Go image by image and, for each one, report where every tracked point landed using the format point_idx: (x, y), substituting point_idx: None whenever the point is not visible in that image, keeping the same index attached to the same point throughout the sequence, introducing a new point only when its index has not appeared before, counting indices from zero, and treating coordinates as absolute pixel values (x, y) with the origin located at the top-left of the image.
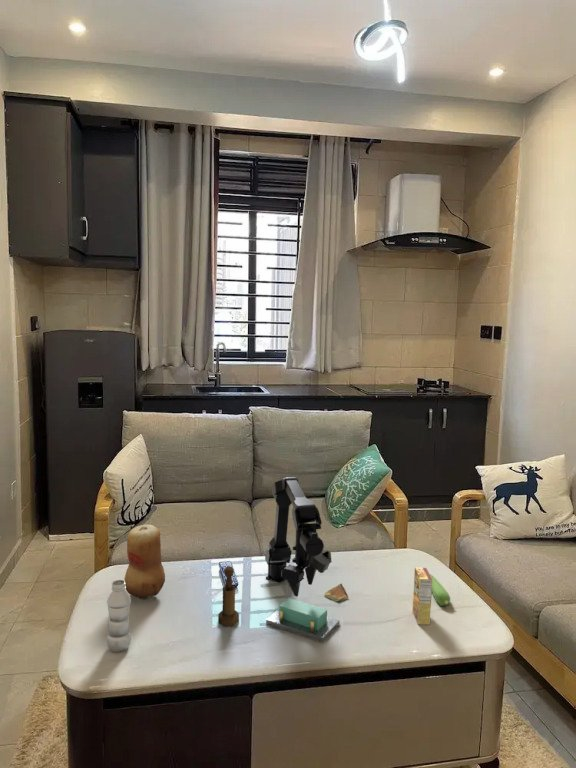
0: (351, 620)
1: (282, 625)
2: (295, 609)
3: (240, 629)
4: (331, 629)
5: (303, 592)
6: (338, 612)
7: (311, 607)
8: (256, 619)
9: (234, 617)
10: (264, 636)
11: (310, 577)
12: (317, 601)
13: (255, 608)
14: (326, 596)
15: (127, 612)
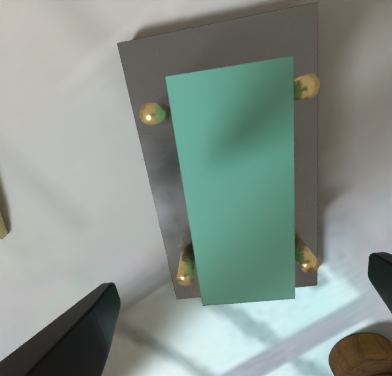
0: (53, 25)
1: (315, 219)
2: (283, 222)
3: (385, 309)
4: (211, 25)
5: (51, 300)
6: (50, 119)
7: (207, 170)
8: (302, 309)
9: (389, 361)
10: (387, 231)
11: (79, 355)
12: (56, 232)
13: (245, 345)
14: (2, 227)
15: None
